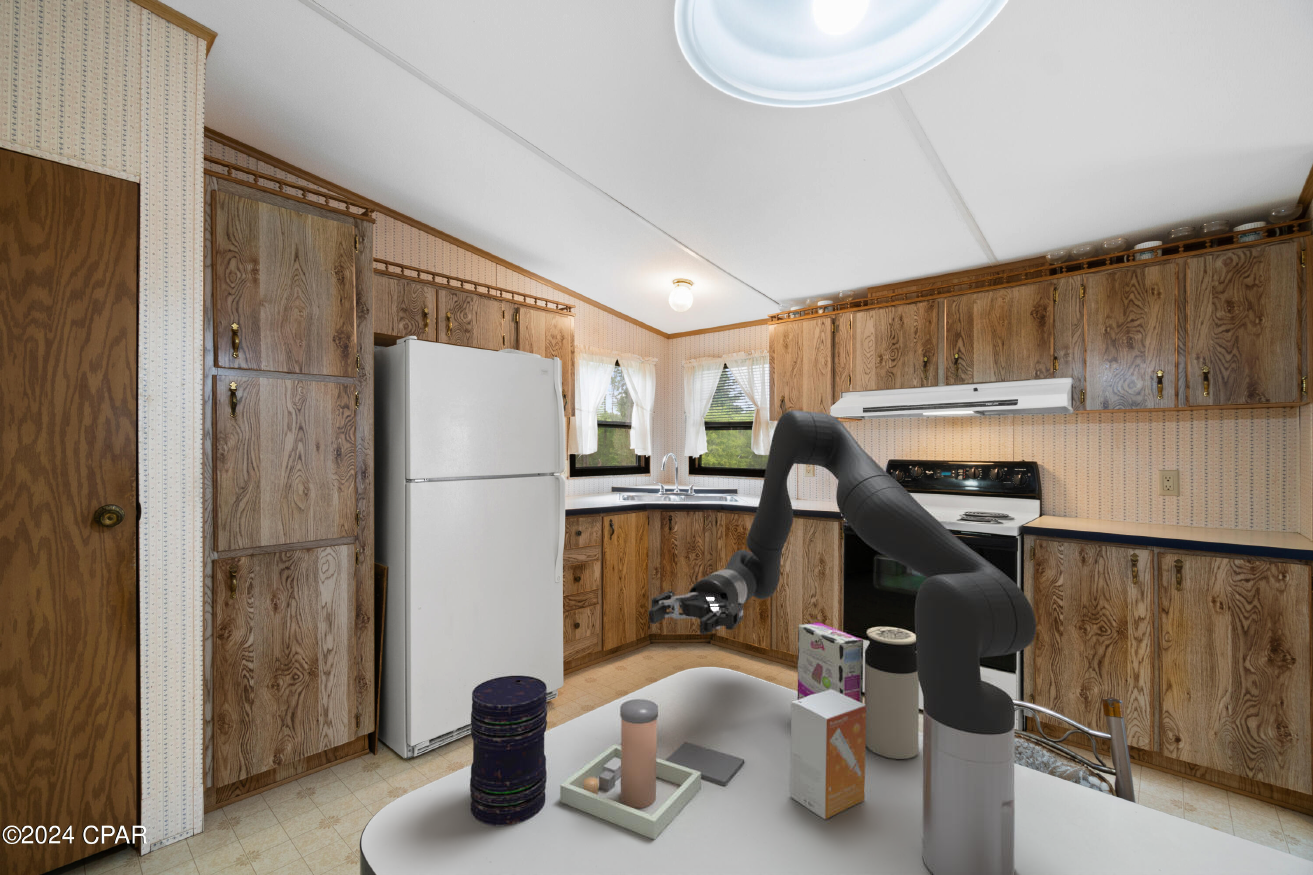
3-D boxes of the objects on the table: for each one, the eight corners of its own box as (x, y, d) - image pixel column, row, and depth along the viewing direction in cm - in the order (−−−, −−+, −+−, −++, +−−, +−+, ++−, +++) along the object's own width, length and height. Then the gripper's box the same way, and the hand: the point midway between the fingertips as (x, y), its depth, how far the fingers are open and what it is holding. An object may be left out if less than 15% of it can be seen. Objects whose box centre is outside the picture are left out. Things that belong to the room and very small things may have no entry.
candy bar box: (864, 741, 97) (865, 639, 97) (840, 747, 95) (841, 643, 95) (818, 712, 107) (819, 620, 107) (795, 717, 105) (796, 623, 105)
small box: (825, 821, 76) (826, 718, 76) (788, 796, 81) (789, 700, 81) (866, 801, 81) (867, 703, 81) (829, 778, 86) (829, 687, 86)
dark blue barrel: (530, 830, 74) (531, 708, 74) (455, 821, 75) (457, 702, 75) (556, 785, 84) (557, 677, 84) (489, 778, 85) (491, 672, 85)
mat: (744, 763, 90) (744, 759, 90) (725, 785, 84) (725, 781, 84) (685, 745, 95) (685, 741, 95) (663, 765, 89) (663, 761, 89)
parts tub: (700, 787, 83) (701, 772, 83) (654, 839, 72) (654, 821, 72) (614, 758, 91) (614, 744, 91) (560, 801, 80) (560, 784, 80)
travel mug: (929, 752, 94) (930, 636, 94) (896, 766, 89) (897, 645, 89) (885, 730, 100) (886, 623, 100) (853, 743, 96) (854, 630, 96)
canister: (664, 793, 82) (664, 704, 82) (644, 813, 77) (645, 719, 78) (632, 782, 84) (633, 696, 84) (611, 800, 80) (612, 709, 80)
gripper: (682, 568, 108) (635, 590, 93) (758, 579, 101) (720, 605, 86) (682, 609, 108) (635, 637, 94) (757, 623, 101) (719, 656, 87)
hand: (676, 622), depth 90 cm, fingers open, 8 cm apart
